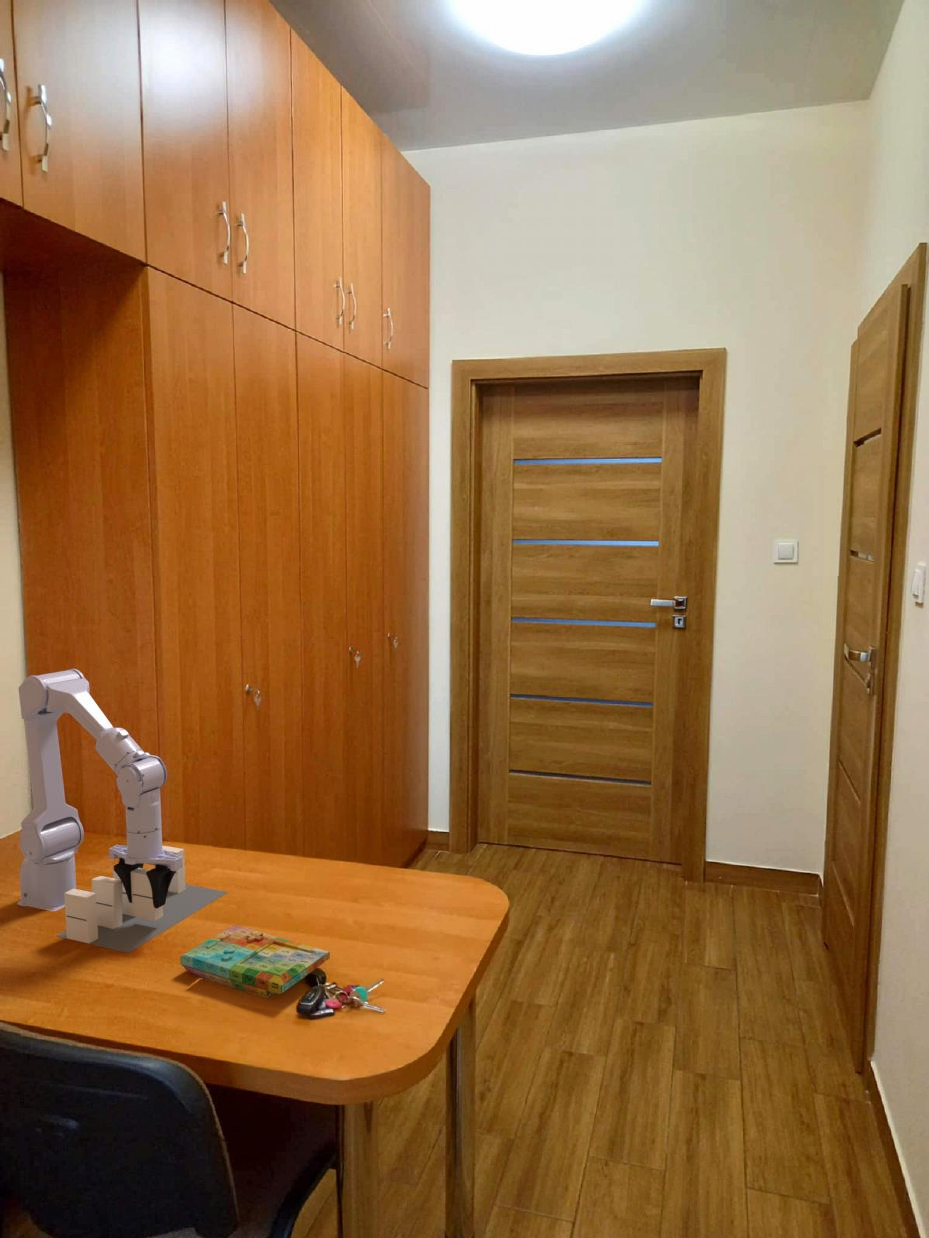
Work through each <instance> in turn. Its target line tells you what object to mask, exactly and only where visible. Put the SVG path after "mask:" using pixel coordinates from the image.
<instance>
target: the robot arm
mask: <svg viewBox="0 0 929 1238" xmlns="http://www.w3.org/2000/svg"><path fill="white" fill-rule="evenodd" d="M90 687H91V686H90V682H89V681H88V680H87V678H85V676H84V674H83V673H82V672H81V671H80V670H79V669H76V668H70V669H67V670H62V671H55V672H51V673H50V672H49V673H44V674H43V673H42V674H40V675H35V674H34V675H33V674H32V675H28V676H26V677H25V679H24V680H23V681H22V682H21V684H20V685H19V687H18V689H17V690H18V695H19V705H20V713H21V719H22V720H23V723H24V725H23V726H24V732H25V739H26V740H25V741H26V748H27V749H26V750H27V759H28V767H29V775H30V784H31V792H32V801H33V807H32V810H31V811H29V813H28V814H26V816H25V817H24V818H23V820H22V821H21V822H20V824H21V825H20V826H21V833H20V839H19V849H20V851H21V853H22V855H23V857H24V859H23V861H22V863H21V865H20V869H19V883H20V901H18V902H17V906H18V905H19V906H20V907H30V908H36V909H41V910H45V911H49V912H56V911H59V910H61V909H63V908H65V897H64V893H66V892H68V891H70V890H72V889H77V879H76V862H75V860H76V859H75V854H76V853H78V852H79V850H78V849H79V848H78V847H80V846H81V844H82V843H83V840H84V836H85V835H84V834H85V832H84V827H83V824H82V823H81V821H80V817H79V812H78V809H77V808H75V806H71V805H69V804H67V803H66V796H65V795H66V794H65V787H64V785H65V784H64V779H63V778H64V777H63V770H62V761H61V753H60V743H59V734H58V726H57V721H58V720H59V719H60V717H61V716H62V715H63V714H70V715H71V716H72V718H74V720H76V721H77V722H78V723H79V724H80V725H81V726H82V727H83V728H84V729H85V730H86V731H87V732H88V733H89V734H90V735H91V736H92V737H93V738H94V739H95V740H96V742H95V751H96V752H97V753H98V754H99V755H100V757H101V758H102V759H103V760H104V762H105V763H106V764H107V765H108V766H109V767H110V768H111V770H112V772H114V773H115V774H116V776H117V777H116V778H115V780H116V781H115V782H116V786H117V789H118V791H119V792H120V794H121V802H122V804H123V805H124V807H125V821H126V823H125V824H126V825H125V826H126V845H119V844H116V845H114V846H112V847H109V848H108V854H109V855H108V856H109V857H108V858H109V860H112V861H113V860H116V859H118V863H116V864H115V865H113V870H114V871H115V872H116V873H117V875H118V876H119V878H120V880H121V881H122V883H123V886H124V888H125V891H126V894H127V897H128V900H129V903H132V893H131V871H133V870H135V869H137V868H143V869H144V865H150V866H154V867H153V868H151V869H148V870H149V871H147V872H146V875H147V877H148V879H149V882H150V885H151V889H152V898H153V905H154V908H159V907H161V906H163V905H165V902H166V897H167V893H168V889H169V886H170V883H171V880H172V878H173V876H174V874H175V872H176V870H178V869H180V868H182V867H183V865H182V856H177V855H175V854H173V853H171V852H169V851H167V850H165V849H163V848H162V846H163V831H162V829H163V828H162V826H163V825H162V804H161V788H162V787H164V785H165V784H166V783H167V779H168V770H167V767H166V764H165V763H164V761H162V758H161V757H159V756H157V755H152V754H150V753H149V752H147V751H146V752H145V751H144V750H143V749H142V748H141V746H139V745H138V743H137V742H136V741H135V740H134V738H133V737H131V734H129V731H127V730H126V729H125V728H123V727H114V726H113V725H112V723H111V722H110V721H109V720H108V718H107V716H106V715H105V714H104V712H103V711H102V709H101V708H100V707H99V706H98V704H97V703H96V701H95V700H94V698H93V697H92V696H91V694H90V692H91V691H90V689H91V688H90Z"/></svg>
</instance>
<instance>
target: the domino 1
mask: <svg viewBox="0 0 929 1238" xmlns="http://www.w3.org/2000/svg"><path fill="white" fill-rule="evenodd" d="M64 897H65V907H64V912H65V929H66V930H65V931H66V934H67V940H71V939H72V940H71V941H75V940H76V941H75V942H79V941H80V943H83V942H84V944H88V943H91V942H93V941H95V940H96V939H98V925H97V905H96V893H93V892H92V891H87V890H82V889H77V888H76V889H72V890H70V891H68V892H66V893H64Z"/></svg>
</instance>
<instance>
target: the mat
mask: <svg viewBox="0 0 929 1238" xmlns="http://www.w3.org/2000/svg"><path fill="white" fill-rule="evenodd" d="M185 886H186V889H185V890H183V891H182V892H180V893H175V892H170V891H168V893H167V897H166V902H165V905H163V916H162V917H161V918H159V919H157V920H156V921H154V920H149V919H144V918H140V917H135V916H131V915H126V914H122V925H121V926H119V927H117V928H115V929H111V928H107V927H102V926H98V939H96V940H95V941H93V942H91V943H87V944H89V945H93V946H96V947H100V948H105V949H109V950H114V951H117V952H118V951H119V952H121V953H126V954H130V953H131V952H133V951H134V950H136V949H138V948H139V947H142V946H143V945H144V944H147V943H148V942H149V941H151V940H153V939H154V938H156V937H157V936H159V935H161V934H162V933H164V932H166V931H167V930H169V929H171V928H172V927H174V926H176V925H177V924H180V923H181V922H182V921H184V920H185V919H187V918H189V917H190V916H192V915H194V914H195V913H197V912H198V911H201V910H202V909H203V908H205V907H207V906H209V905H210V904H211V903H213V902H216V900H218V899H219V898H222V897H223V896H225V895H227V894H228V893H229V892H228V891H223V890H219V889H213V888H207V887H203V886H197V885H193V884H188V883H187V884H186V883H185ZM55 937H58V938H63V939H65V940H66V939H67V934H66V930H64V931H62V932H61V933H59V934H56V935H55ZM67 940H68V939H67ZM70 940H71V941H73V940H72V939H70ZM74 942H77V941H76V940H74ZM78 942H80V941H78ZM80 943H81V942H80ZM82 943H84V942H82ZM84 944H85V943H84Z"/></svg>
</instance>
